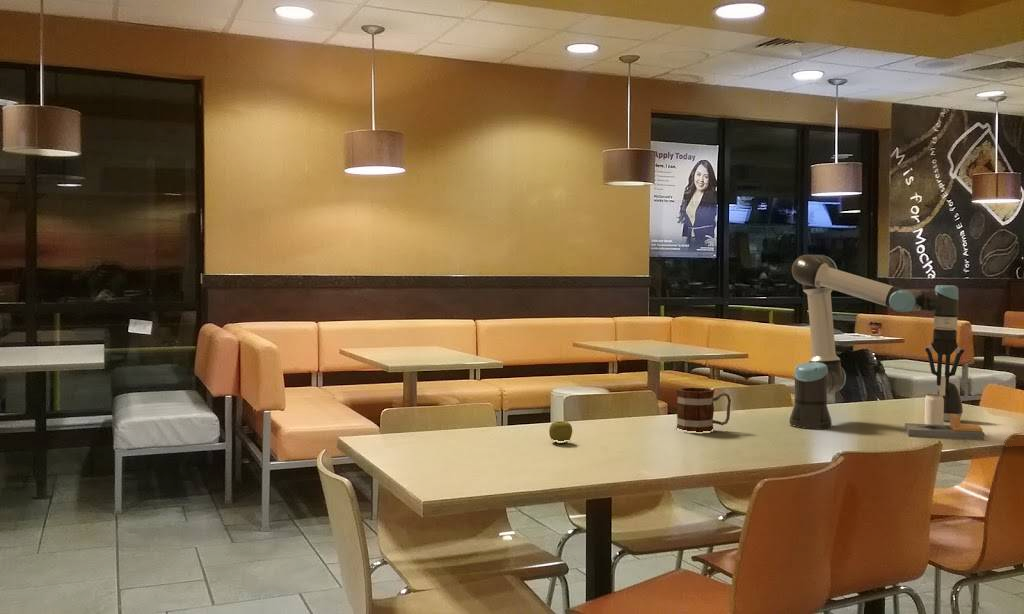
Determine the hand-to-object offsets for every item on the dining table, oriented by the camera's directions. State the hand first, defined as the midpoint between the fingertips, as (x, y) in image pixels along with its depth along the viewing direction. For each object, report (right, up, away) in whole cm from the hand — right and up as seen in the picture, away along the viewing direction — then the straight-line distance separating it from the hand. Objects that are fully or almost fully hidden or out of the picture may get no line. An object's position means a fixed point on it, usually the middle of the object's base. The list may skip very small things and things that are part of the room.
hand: (942, 394), depth 325 cm
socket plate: (+1, -14, 0) cm, 14 cm away
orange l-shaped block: (+7, -12, -2) cm, 14 cm away
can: (+5, -14, +17) cm, 23 cm away
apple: (-137, -15, -17) cm, 139 cm away
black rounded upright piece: (+17, -13, +31) cm, 38 cm away
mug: (-83, -14, +8) cm, 85 cm away
